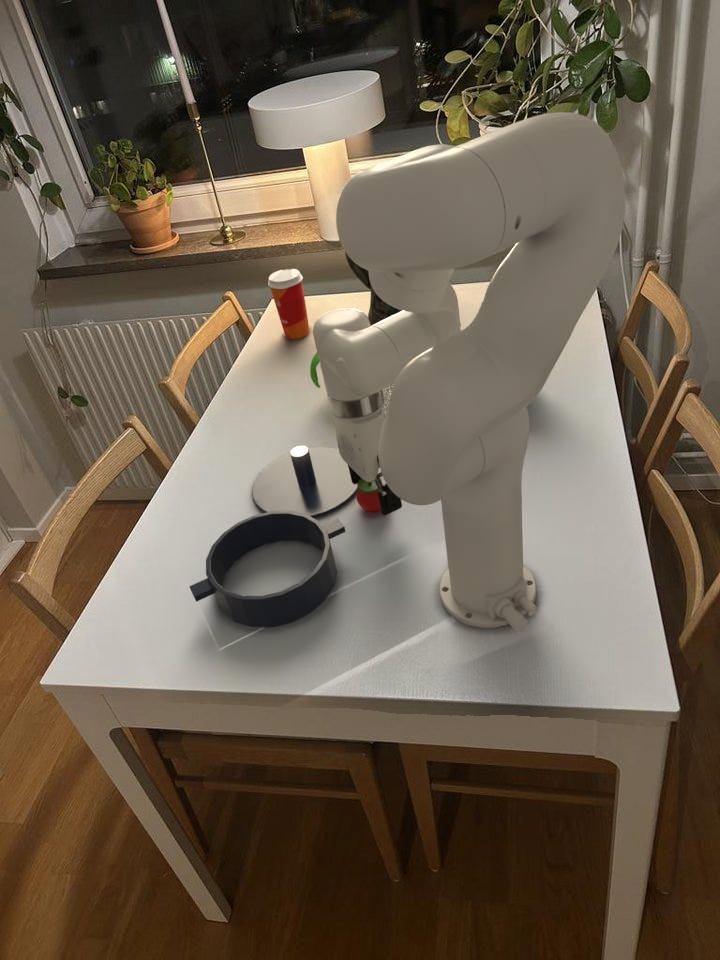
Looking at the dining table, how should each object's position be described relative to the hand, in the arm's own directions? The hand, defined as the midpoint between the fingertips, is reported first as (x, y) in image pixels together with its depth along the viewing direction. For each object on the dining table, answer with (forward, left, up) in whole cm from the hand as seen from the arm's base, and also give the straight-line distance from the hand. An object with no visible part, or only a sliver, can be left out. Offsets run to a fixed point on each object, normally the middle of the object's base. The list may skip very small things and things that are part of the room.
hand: (376, 495), depth 112 cm
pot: (-4, +19, -4) cm, 20 cm away
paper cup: (+66, -15, -4) cm, 68 cm away
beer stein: (+52, -34, -4) cm, 62 cm away
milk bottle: (+34, -34, -4) cm, 48 cm away
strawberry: (+1, 0, -4) cm, 4 cm away
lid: (+13, +6, -3) cm, 15 cm away
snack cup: (+36, -14, -4) cm, 39 cm away
